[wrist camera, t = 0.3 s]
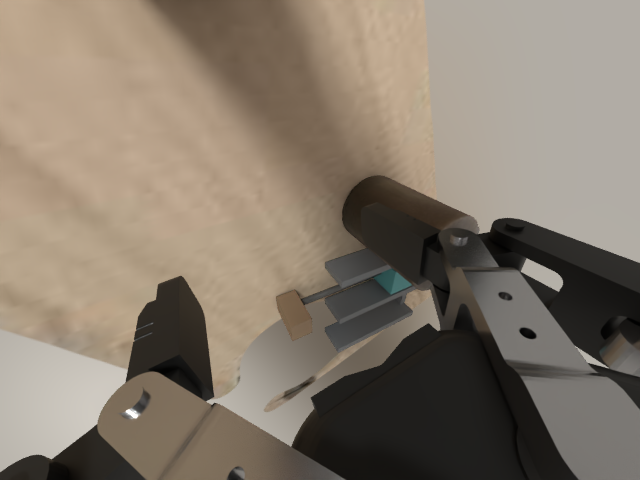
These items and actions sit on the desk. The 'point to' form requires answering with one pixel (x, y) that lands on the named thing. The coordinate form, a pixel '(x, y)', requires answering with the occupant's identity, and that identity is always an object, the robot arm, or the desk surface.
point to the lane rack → (362, 300)
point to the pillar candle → (406, 202)
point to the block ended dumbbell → (294, 307)
